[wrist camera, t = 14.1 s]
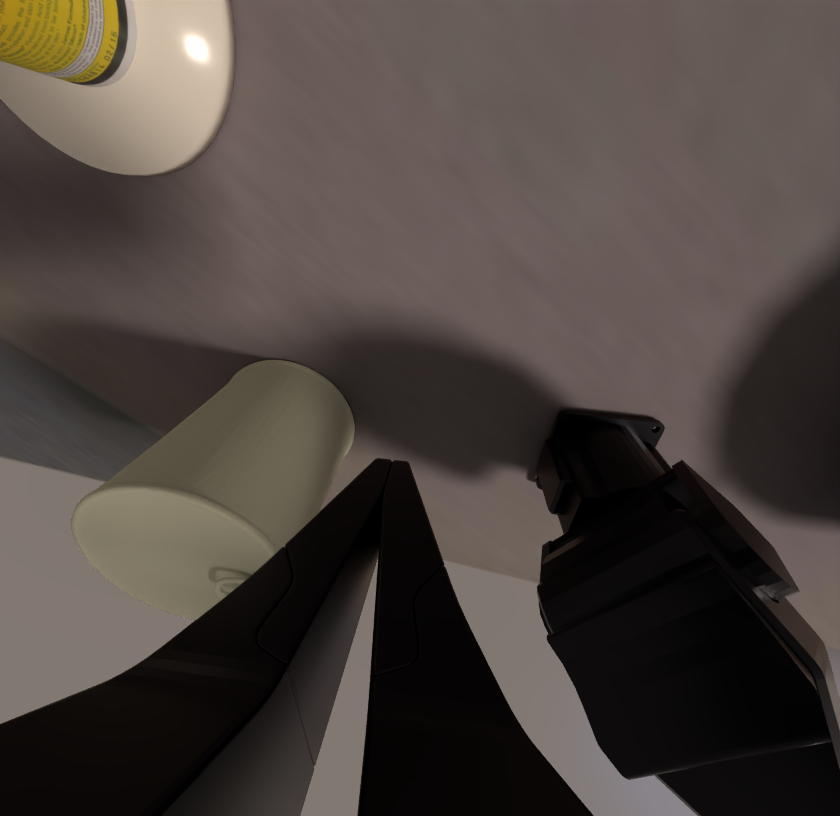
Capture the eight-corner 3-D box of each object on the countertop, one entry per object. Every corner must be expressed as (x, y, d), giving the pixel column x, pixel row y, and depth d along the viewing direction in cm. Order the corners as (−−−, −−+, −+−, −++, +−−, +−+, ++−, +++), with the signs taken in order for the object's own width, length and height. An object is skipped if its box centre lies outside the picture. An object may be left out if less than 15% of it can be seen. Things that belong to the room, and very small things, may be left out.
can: (343, 482, 27) (275, 652, 17) (226, 450, 27) (83, 606, 17) (367, 383, 23) (294, 537, 12) (225, 340, 22) (25, 465, 12)
